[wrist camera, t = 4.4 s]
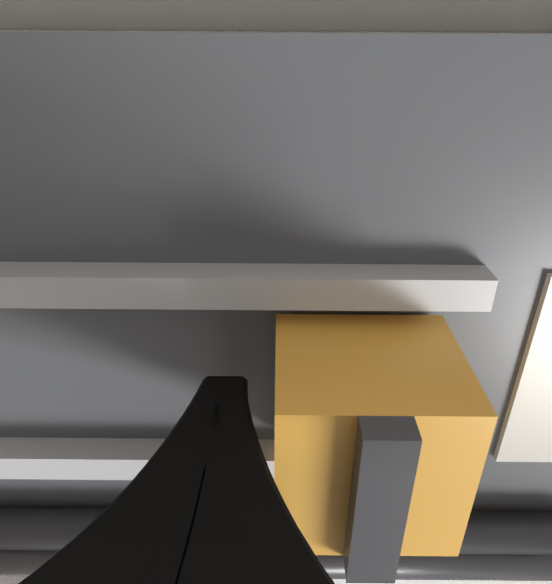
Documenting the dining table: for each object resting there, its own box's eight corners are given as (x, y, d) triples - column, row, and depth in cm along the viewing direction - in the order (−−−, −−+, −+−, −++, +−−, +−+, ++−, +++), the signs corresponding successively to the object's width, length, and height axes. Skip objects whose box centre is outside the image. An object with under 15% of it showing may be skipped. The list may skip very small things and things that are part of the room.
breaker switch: (442, 315, 12) (511, 441, 8) (418, 438, 14) (467, 584, 10) (276, 314, 12) (274, 440, 8) (275, 436, 14) (273, 582, 10)
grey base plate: (834, 33, 11) (992, 37, 8) (599, 524, 18) (646, 599, 16) (-468, 27, 11) (-678, 29, 8) (-162, 517, 18) (-227, 591, 16)
